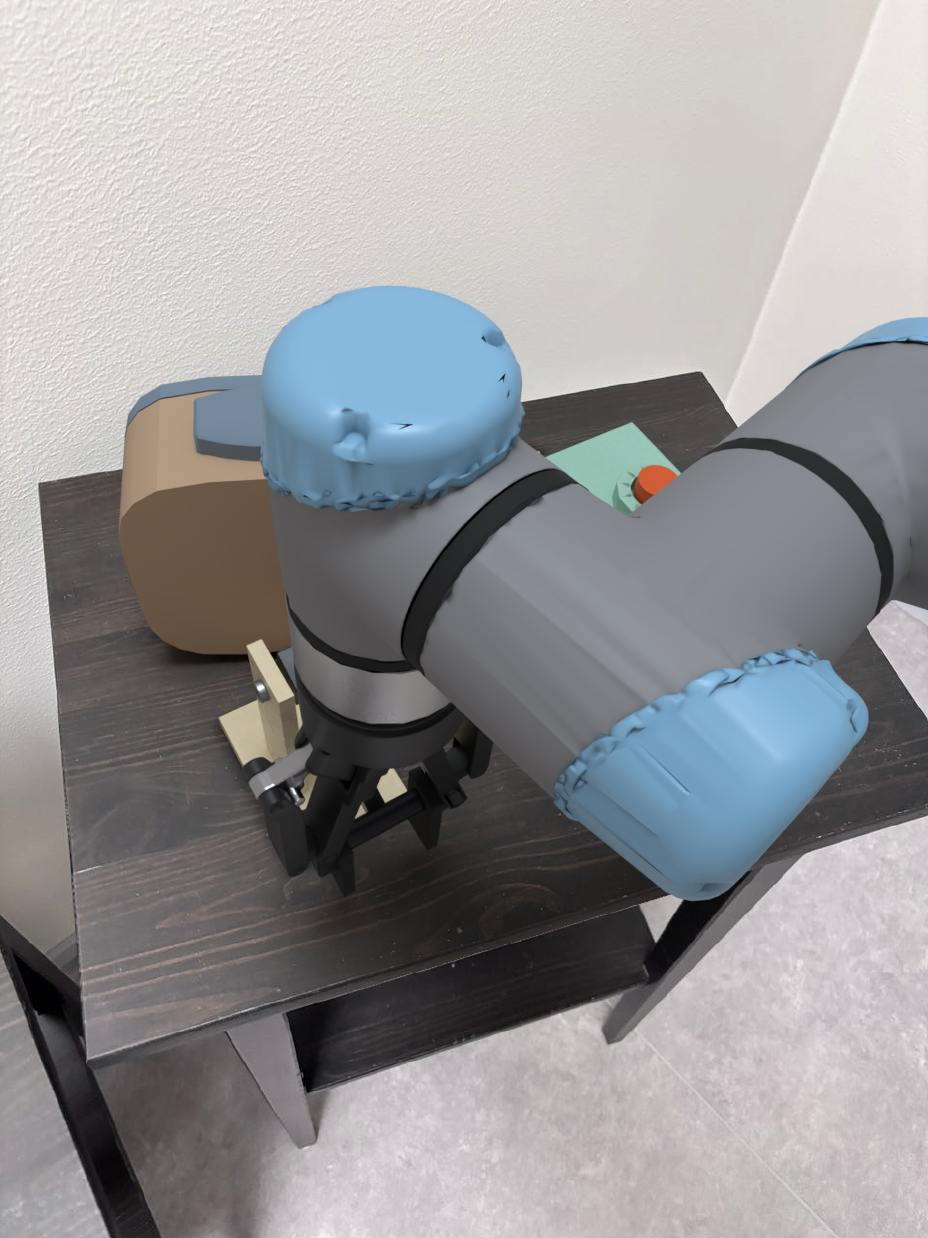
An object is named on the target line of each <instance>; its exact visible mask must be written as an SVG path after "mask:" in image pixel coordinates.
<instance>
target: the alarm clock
mask: <svg viewBox="0 0 928 1238" xmlns="http://www.w3.org/2000/svg"><path fill="white" fill-rule="evenodd" d="M261 377H262V374H251V375H248V374H247V375H226V376H225V375H223V376H222V375H221V376H206V377H205V376H204V377H200V378H193V379H188V380H182V381H176V382H168V383H163V384H160V385H158V386H157V387H155V388H153V389H152V390H150V391H148V392H146V393H145V394H143V395H142V396H139V398H138V399H137V401H136V403H135V404H134V405H133V406H132V408H131V409H130V411H129V412H128V414H127V419H126V424H125V431H124V438H123V439H124V441H123V454H122V455H123V457H122V473H121V487H120V505H119V519H118V534H117V535H118V536H117V537H118V542H119V548H120V552H121V555H122V559H123V561H124V564H125V568H126V570H127V573H128V576H129V578H130V581H131V584H132V587H133V589H134V592H135V595H136V598H137V601H138V603H139V606H140V610H141V612H142V615H143V617H144V619H145V621H146V623H147V624H148V626H149V628H150V630H151V631H152V632H153V633H154V634H155V635H157V637H159V639H160V640H162V641H163V642H165V643H166V644H168V645H171V646H173V647H174V648H176V649H179V650H182V651H187V652H190V653H191V652H192V653H196V654H200V655H248V652H247V647H246V646H247V645H249V644H251V643H254V642H256V641H258V640H261V639H262V640H263V642H264V644H265V646H266V647H267V649H268V651H269V652H270V653H273V652H274V653H275V652H276V653H277V652H280V651H282V650H284V649H286V648H289V647H291V646H292V644H291V637H290V629H289V622H288V615H287V607H286V600H285V590H284V587H283V581H282V575H281V569H280V563H279V556H278V550H277V544H276V538H275V531H274V525H273V519H272V513H271V506H270V500H269V494H268V488H267V482H266V478H265V476H264V475H263V469H262V465H261V462H260V458H261V454H260V452H261V447H262V443H263V441H264V427H263V410H262V396H261Z"/></svg>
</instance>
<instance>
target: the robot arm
mask: <svg viewBox="0 0 928 1238" xmlns="http://www.w3.org/2000/svg"><path fill="white" fill-rule="evenodd" d="M261 375H262V377H261V396H262V410H263V427H264V441H263V443H262V447H261V452H260V454H261V458H260V462H261V465H262V469H263V475H264V476H265V478H266V482H267V488H268V494H269V500H270V506H271V513H272V519H273V525H274V531H275V538H276V544H277V550H278V556H279V563H280V569H281V575H282V581H283V587H284V590H285V600H286V607H287V615H288V622H289V629H290V637H291V644H292V651H293V658H294V672H295V679H296V686H297V694H298V701H299V708H300V714H301V718H302V726H301V728H300V730H299V731H298V733H297V735H296V737H295V741H294V746H295V751H293V752H292V753H290V754H289V755H287V756H286V757H284V758H277V759H275V760H274V761H273V762H270V761H269V760H267V759H266V758H264V757H258V758H254V759H252V760H250V761H249V762H247V763H246V764H245V765H244V766H243V768H242V767H241V773H242V775H243V777H244V779H245V781H246V782H247V785H248V787H249V788H250V791H251V792H252V794H253V797H254V798H255V800H256V802H257V804H258V806H259V808H260V809H261V812H262V814H263V816H264V821H265V825H266V830H267V836H268V838H269V840H270V843H271V844H272V846H273V848H274V850H275V853H276V854H277V856H278V858H279V860H280V862H281V864H282V866H283V868H284V869H285V871H286V873H287V875H288V877H290V878H293V877H294V878H295V877H298V876H300V875H302V874H303V873H305V871H306V870H307V869H308V868H309V867H310V864H312V865H313V868H314V870H315V872H316V873H317V875H318V877H320V878H325V877H326V876H328V875H330V874H331V875H332V877H333V879H334V881H335V883H336V884H337V886H338V888H339V890H340V892H341V894H342V896H343V898H346V897H347V896H350V895H352V894H353V893H355V892H356V873H355V872H356V871H355V854H354V853H355V852H354V850H353V849H351V847H350V845H349V843H348V842H347V840H346V839H347V836H348V834H349V831H350V829H351V827H352V824H353V822H354V820H355V817H356V815H357V813H358V810H359V808H360V805H361V803H362V802H363V801H366V800H368V799H371V798H372V797H373V795H374V792H375V790H376V788H377V786H378V783H379V781H380V779H381V776H384V775H386V774H387V773H388V771H389V769H394V770H395V769H400V768H401V769H402V768H405V767H409V766H413V765H416V764H418V763H420V764H421V765H418V766H417V767H415V768H413V769H411V770H408V776H407V788H406V789H407V791H408V790H410V789H412V788H414V789H416V790H417V792H418V793H419V794H420V796H421V798H422V800H423V803H424V806H425V810H424V811H422V812H420V813H418V814H416V815H415V816H413V817H411V818H409V819H407V821H408V822H409V824H410V825H411V827H412V829H413V830H414V832H415V833H416V835H417V837H418V839H419V840H420V842H421V844H422V846H424V848H425V850H426V852H428V851H430V850H431V849H433V848H435V847H437V846H438V843H439V836H440V831H441V824H442V819H443V818H442V817H443V812H444V811H446V810H447V809H449V810H454V809H457V808H458V807H460V806H461V805H463V804H464V803H465V802H466V801H467V800H468V795H467V794H466V791H464V789H463V788H462V786H461V784H460V782H459V781H460V780H462V779H463V778H464V777H466V776H468V777H469V778H470V780H474V779H477V778H480V777H481V776H483V775H484V774H485V773H486V772H487V771H488V770H489V765H490V762H491V761H490V760H491V756H492V751H493V747H494V745H496V746H497V747H498V748H499V750H501V751H502V752H503V753H504V754H505V755H506V756H507V757H508V758H509V759H510V760H511V761H512V762H514V763H515V764H516V766H518V767H519V768H520V769H521V770H522V771H523V772H524V773H525V774H526V775H527V776H528V777H529V778H530V779H531V780H532V781H534V782H535V783H536V784H537V786H539V787H540V789H542V790H543V791H544V792H545V793H546V794H547V795H548V796H549V797H550V798H552V800H553V805H555V806H556V807H557V809H559V810H560V811H561V812H562V813H563V815H565V817H566V818H567V819H569V820H571V821H575V822H579V823H580V824H582V826H584V827H585V828H586V829H587V830H588V831H589V832H591V833H592V834H594V836H596V837H597V838H598V839H599V840H601V841H602V843H605V844H606V845H607V846H608V847H610V848H611V849H612V850H613V851H614V852H616V853H617V854H618V855H619V856H621V857H622V858H623V859H624V860H625V861H626V862H628V863H629V864H630V865H632V866H633V867H634V868H635V869H637V870H638V871H639V872H640V873H641V874H642V875H644V876H645V877H646V878H648V879H649V880H650V881H651V882H653V883H654V884H655V885H656V886H658V888H660V889H661V890H663V891H664V892H665V893H667V894H669V895H670V896H673V897H675V898H677V899H679V900H684V901H689V902H695V901H698V902H699V901H707V900H712V899H715V898H717V897H719V896H721V895H722V894H725V892H727V891H729V890H730V889H731V888H732V887H733V886H734V885H735V884H736V883H737V882H738V881H739V880H740V879H741V878H743V876H745V874H746V873H747V872H748V871H749V870H750V869H751V868H752V866H754V865H755V864H756V862H757V861H758V860H759V859H760V858H761V857H762V856H763V854H765V852H767V850H768V849H769V848H770V847H771V846H772V845H773V844H774V843H775V841H776V840H778V838H779V837H780V836H781V835H782V834H783V833H784V831H785V830H786V829H787V828H788V827H789V826H790V825H791V823H792V822H794V820H795V819H796V818H797V816H799V814H800V813H801V812H802V811H803V810H804V809H805V807H806V806H807V805H808V804H809V803H810V802H811V801H812V799H814V797H815V796H816V795H817V794H818V793H819V792H820V790H821V789H822V788H823V786H825V784H826V782H828V780H829V779H830V778H831V777H832V775H833V774H834V773H835V772H836V771H837V770H838V769H839V768H840V766H841V765H842V764H843V763H844V762H845V761H846V759H847V758H848V757H849V756H850V754H851V752H852V750H853V748H854V747H855V746H856V745H857V744H858V743H859V742H860V741H861V740H862V738H863V736H864V735H866V732H867V729H868V726H869V721H870V720H869V710H868V706H867V705H866V703H865V701H864V699H863V698H862V697H861V696H860V695H859V693H858V692H856V691H855V689H853V688H852V687H851V686H849V684H847V683H846V682H845V681H844V680H843V679H842V678H841V677H840V676H839V675H838V674H837V673H836V672H835V670H834V667H835V666H836V665H837V663H838V662H839V661H840V659H841V658H842V657H843V656H844V655H845V653H847V651H848V650H849V649H850V648H851V646H852V645H853V644H854V643H855V641H856V640H857V639H858V638H859V637H860V636H861V634H862V633H863V632H864V631H865V630H866V629H867V627H868V626H869V625H870V624H871V623H872V621H873V620H875V619H876V618H877V616H878V615H880V613H881V611H882V610H883V609H884V608H885V607H886V606H887V605H888V604H890V603H891V602H892V601H897V602H901V603H904V604H907V605H910V606H913V607H916V608H919V609H923V610H926V611H928V316H917V317H916V316H915V317H904V318H899V319H894V320H891V321H888V322H884V323H883V324H880V325H877V326H875V327H873V328H871V329H869V330H866V331H865V332H863V333H861V334H860V335H858V336H856V337H855V338H854V339H852V340H851V341H849V342H847V343H846V344H845V345H843V346H842V347H841V348H836V349H833V350H831V351H829V352H827V353H825V354H823V355H822V356H821V357H819V358H818V359H816V360H814V361H813V362H812V363H811V364H809V365H808V366H807V367H806V368H805V369H803V370H802V371H801V372H800V373H799V374H798V375H797V376H796V377H795V378H794V379H793V380H791V382H790V383H789V384H788V385H786V387H785V388H784V389H783V390H782V391H780V392H779V393H778V394H777V395H775V396H774V397H773V398H772V399H771V400H770V401H768V402H767V403H766V404H765V405H764V406H762V407H761V408H760V409H758V410H757V411H756V412H755V413H754V414H752V415H751V416H750V417H749V418H748V419H747V420H745V421H744V422H743V423H741V424H740V425H739V426H738V427H736V428H735V429H734V430H733V431H732V432H730V433H729V434H728V435H727V436H725V438H723V439H722V440H720V442H718V443H717V444H716V445H715V446H714V447H712V448H711V449H709V451H707V452H706V453H704V454H703V455H702V456H701V457H699V458H698V459H697V460H696V461H695V462H694V463H693V464H691V465H689V467H687V468H686V469H685V470H684V471H683V472H680V473H681V474H680V475H679V476H677V477H676V478H675V479H674V480H672V481H671V482H670V483H669V484H667V485H666V486H665V487H663V488H662V489H661V490H660V491H658V492H657V493H656V494H655V495H653V496H652V497H651V498H650V499H648V500H647V501H646V502H644V503H643V504H642V505H641V506H639V507H638V508H637V509H636V510H634V511H633V512H632V513H630V514H628V515H625V514H624V513H622V512H620V511H619V510H617V509H616V508H614V507H612V506H611V505H609V504H608V503H606V502H604V501H603V500H601V499H600V498H598V497H596V496H595V495H593V494H592V493H591V492H590V491H589V490H588V489H587V488H586V487H584V486H583V485H581V484H579V483H578V482H577V481H576V480H574V479H573V478H572V477H570V476H569V475H568V474H567V473H566V472H564V471H563V470H562V469H560V468H559V467H558V466H556V465H555V464H554V463H552V462H551V461H549V460H548V459H547V458H545V457H546V456H544V455H543V454H541V452H540V451H539V452H540V453H539V452H537V451H538V450H536V449H535V448H533V447H532V446H530V444H528V443H526V442H525V441H524V440H523V439H522V438H521V436H520V435H519V434H520V433H521V430H522V424H523V421H524V420H523V419H524V417H525V416H526V412H525V410H524V409H525V406H523V403H522V391H523V376H522V375H523V374H522V368H521V366H520V364H519V362H518V360H517V358H516V355H515V353H514V351H513V350H512V348H511V345H510V344H509V343H508V341H507V340H506V338H505V335H504V333H503V331H502V329H501V328H500V327H499V326H498V325H497V324H496V323H495V321H493V319H491V318H490V317H488V316H487V315H486V314H485V313H483V312H481V311H480V310H479V309H477V308H476V307H474V306H472V305H471V304H469V303H467V302H465V301H463V300H460V299H458V298H456V297H453V296H451V295H449V294H445V293H443V292H439V291H435V290H431V289H426V288H422V287H415V286H407V285H374V286H366V287H359V288H355V289H350V290H345V291H341V292H339V293H335V294H333V295H332V296H331V297H329V298H328V299H326V300H325V301H324V302H322V303H320V304H317V305H312V307H310V308H306V309H303V310H302V311H300V312H299V314H297V315H296V316H294V317H293V318H292V319H290V320H289V321H288V322H287V323H286V324H285V325H284V326H283V327H282V329H280V331H279V332H278V333H277V335H276V336H275V337H274V339H273V341H272V342H271V344H270V346H269V348H268V350H267V352H266V355H265V358H264V361H263V365H262V370H261ZM447 745H448V746H449V748H450V749H449V750H447V751H446V750H445V748H444V747H445V746H447ZM310 773H311V774H312V775H315V776H317V778H316V781H315V784H314V786H313V789H312V792H311V795H310V798H309V801H308V804H307V807H306V809H304V810H301V808H300V805H302V804H303V803H304V802H305V797H304V796H303V794H302V792H301V790H302V789H303V787H304V785H305V784H304V779H305V778H306V776H307V775H308V774H310ZM310 862H311V863H310Z"/></svg>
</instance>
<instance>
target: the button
mask: <svg viewBox="0 0 928 1238" xmlns="http://www.w3.org/2000/svg"><path fill="white" fill-rule="evenodd" d="M676 477H677V475H676V474H675V473H674V472H673V471H672V470H671V469H669V468H667V467H664V466H660V465H650V466H647V467H645V468H643V469H642V470H641V471H640V472H639V474H638V477H637V480H636V483H635V486H634V490H633V491H634V496H635V498H636V499H637V500H638V502H639V503H641V504H643V503H644V502H646V501H647V500H648V499H650V498H651V497H652V496H653V495H655V494H656V493H657V492H658V491H660V490H661V489H662V488H663V487H665V486H666V485H667V484H669V483H670V482H671V481H672V480H674V479H675V478H676Z"/></svg>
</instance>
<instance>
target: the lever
mask: <svg viewBox="0 0 928 1238" xmlns="http://www.w3.org/2000/svg"><path fill="white" fill-rule="evenodd" d="M276 665H277V666H278V668H279V670H280V672H281V673H282V675H283V677H284V678H285V680H286V682H287V684H288V685H289V687H290V689H291V691H292V692H293V694H294V697H295V704H296V705H298V704H299V701H298V694H297V686H296V679H295V672H294V658H293V651H292V646H291V647H289V648H286V649H284V650H282V651H277V652H276ZM361 805H362V807H363V809H364V811H365V814H363V815H361V816H359V817H357V818H355V820H354V822H353V824H352V827H351V829H350V831H349V834H348V836H347V839H346V840H347V842H348V843H349V845H350V847H351V849H352V850H353V849H355V848H357V847H359V846H361V845H363V844H364V843H367V842H369V841H370V840H373V839H374V838H376V837H378V836H379V835H381V834H383V833H385V832H387V831H389V830H391V829H393V828H394V827H396V826H398V825H400V824H402V823H404V822H405V821H408V819H409V818H411V817H413V816H415V815H416V814H418V813H420V812H422V811H424V810H425V806H424V803H423V800H422V798H421V796H420V794H419V793H418V792H417V790H416V789H414V788H412V789H410V790H408V791H406V792H404V793H403V794H401V795H399V796H397V797H395V798H393V799H391V800H389V801H387V802H386V803H385V802H384V800H383V798H382V796H381V794H380V792H379V790H378V788H376V790H375V792H374V795H373V797H372V798H371V799H368V800H366V801H363V802H362V803H361Z"/></svg>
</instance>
